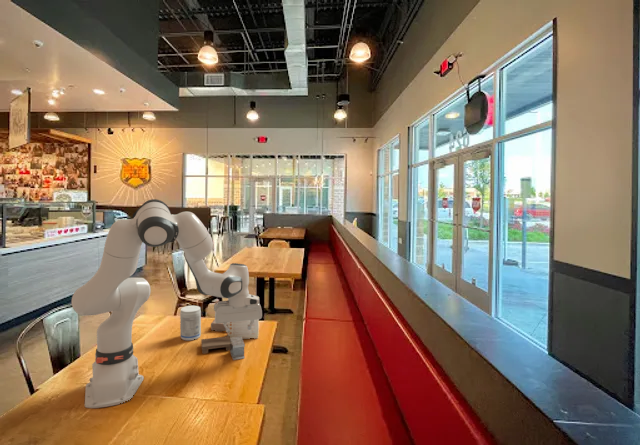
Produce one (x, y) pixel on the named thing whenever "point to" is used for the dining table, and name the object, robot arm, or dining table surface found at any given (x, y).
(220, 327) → the brick
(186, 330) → the supplement tub
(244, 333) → the coffeecake box
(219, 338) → the stand
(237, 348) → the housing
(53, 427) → the dining table surface
